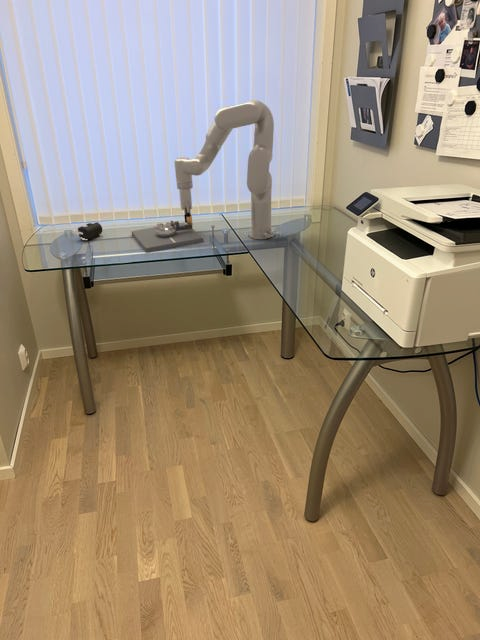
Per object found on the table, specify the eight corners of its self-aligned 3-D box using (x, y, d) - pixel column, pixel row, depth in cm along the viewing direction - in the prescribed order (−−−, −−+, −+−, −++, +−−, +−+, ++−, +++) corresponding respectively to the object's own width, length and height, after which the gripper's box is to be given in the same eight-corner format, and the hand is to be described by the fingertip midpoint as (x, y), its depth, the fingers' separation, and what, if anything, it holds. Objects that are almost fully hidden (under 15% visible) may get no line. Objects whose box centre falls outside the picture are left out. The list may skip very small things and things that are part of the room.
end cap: (90, 242, 229) (87, 228, 226) (79, 240, 232) (76, 227, 229) (103, 235, 237) (101, 222, 234) (93, 234, 240) (90, 221, 237)
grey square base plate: (203, 241, 224) (203, 237, 223) (146, 252, 214) (145, 247, 213) (184, 225, 246) (184, 221, 245) (131, 234, 236) (131, 230, 235)
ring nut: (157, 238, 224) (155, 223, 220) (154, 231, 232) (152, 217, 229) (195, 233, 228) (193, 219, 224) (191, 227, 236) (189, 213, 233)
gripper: (175, 182, 230) (179, 218, 239) (178, 189, 217) (182, 227, 226) (190, 180, 231) (194, 217, 240) (194, 187, 219) (197, 225, 228)
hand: (188, 222), depth 233 cm, fingers closed
